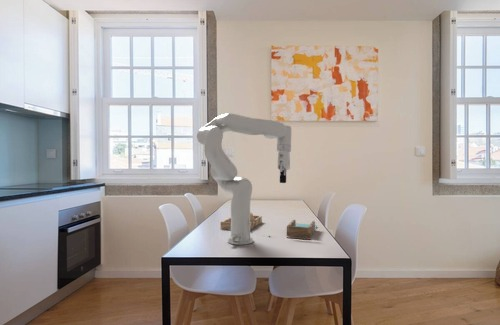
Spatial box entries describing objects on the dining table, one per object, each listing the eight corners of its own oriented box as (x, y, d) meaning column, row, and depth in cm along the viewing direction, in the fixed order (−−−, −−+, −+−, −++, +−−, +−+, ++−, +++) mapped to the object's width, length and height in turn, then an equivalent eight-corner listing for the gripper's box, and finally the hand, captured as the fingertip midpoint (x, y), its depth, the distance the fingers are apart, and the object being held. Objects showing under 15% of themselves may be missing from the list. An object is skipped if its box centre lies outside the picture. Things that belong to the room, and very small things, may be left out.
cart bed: (310, 240, 151) (310, 228, 151) (286, 238, 155) (286, 226, 155) (314, 232, 168) (314, 221, 168) (293, 230, 172) (293, 219, 172)
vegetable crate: (248, 231, 170) (248, 224, 170) (220, 228, 175) (220, 222, 175) (261, 222, 194) (261, 216, 194) (237, 220, 200) (237, 214, 200)
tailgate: (314, 230, 168) (316, 224, 176) (293, 228, 172) (296, 223, 180) (314, 232, 169) (316, 226, 176) (293, 230, 172) (296, 225, 180)
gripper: (287, 147, 154) (286, 183, 154) (293, 149, 168) (292, 182, 168) (273, 147, 157) (272, 183, 157) (280, 149, 171) (279, 181, 171)
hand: (282, 182), depth 162 cm, fingers closed
